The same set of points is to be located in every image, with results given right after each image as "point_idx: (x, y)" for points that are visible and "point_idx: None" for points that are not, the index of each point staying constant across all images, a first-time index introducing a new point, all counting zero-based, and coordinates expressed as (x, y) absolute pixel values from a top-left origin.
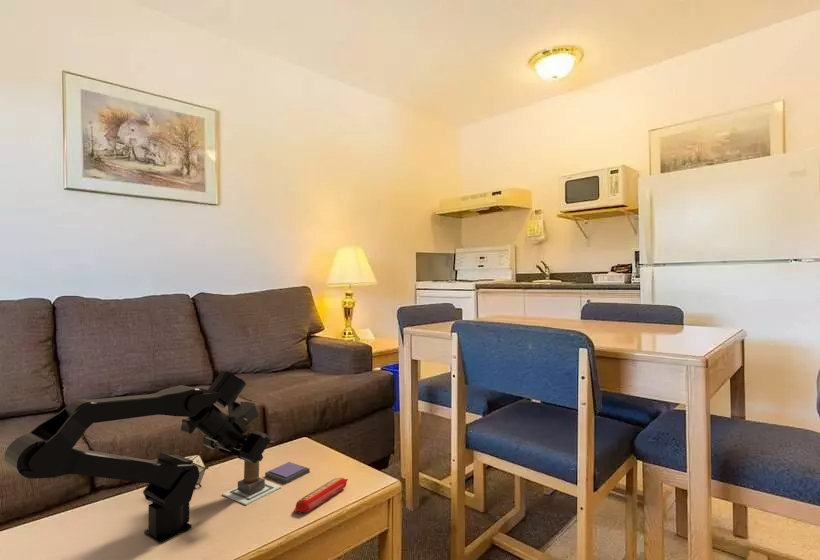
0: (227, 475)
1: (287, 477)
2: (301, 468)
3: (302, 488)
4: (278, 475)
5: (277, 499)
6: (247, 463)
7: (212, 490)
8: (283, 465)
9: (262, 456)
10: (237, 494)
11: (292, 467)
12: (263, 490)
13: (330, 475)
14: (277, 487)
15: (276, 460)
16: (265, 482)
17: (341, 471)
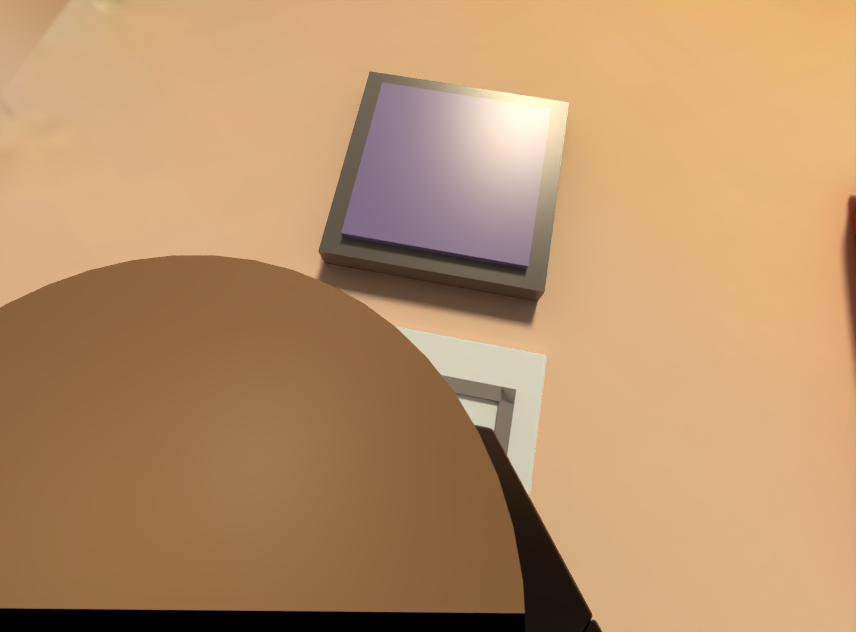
0: None
1: (528, 259)
2: (531, 126)
3: (683, 311)
4: (442, 254)
5: (648, 509)
6: (360, 617)
7: None
8: (380, 131)
9: (500, 449)
10: None
11: (462, 134)
12: None
13: (711, 111)
14: (535, 377)
15: (243, 60)
16: None
17: (731, 51)
